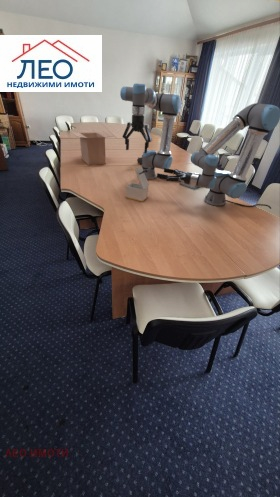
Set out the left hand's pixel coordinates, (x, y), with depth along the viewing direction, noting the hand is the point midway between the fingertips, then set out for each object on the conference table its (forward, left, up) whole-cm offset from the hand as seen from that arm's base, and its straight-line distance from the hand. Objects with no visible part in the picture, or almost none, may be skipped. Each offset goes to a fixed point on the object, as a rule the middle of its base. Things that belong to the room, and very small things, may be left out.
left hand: (136, 151), depth 148 cm
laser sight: (-21, -86, -33) cm, 95 cm away
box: (+37, -92, -33) cm, 104 cm away
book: (-57, -30, -33) cm, 73 cm away
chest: (-2, +1, -33) cm, 33 cm away
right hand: (-16, +10, -11) cm, 22 cm away
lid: (-5, +3, -17) cm, 18 cm away
